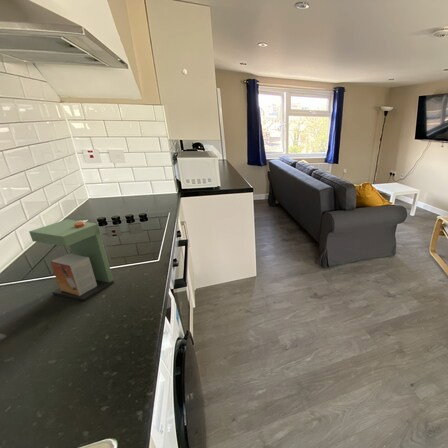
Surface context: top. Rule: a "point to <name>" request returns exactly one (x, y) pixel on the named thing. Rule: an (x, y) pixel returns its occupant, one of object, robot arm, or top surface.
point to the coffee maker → (79, 250)
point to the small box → (74, 274)
